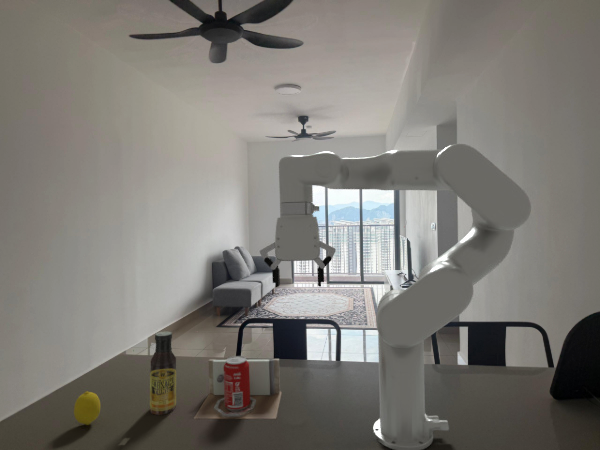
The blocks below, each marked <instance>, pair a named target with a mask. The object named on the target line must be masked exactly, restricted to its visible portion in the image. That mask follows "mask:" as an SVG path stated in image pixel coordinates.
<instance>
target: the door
mask: <svg viewBox="0 0 600 450" xmlns="http://www.w3.org/2000/svg"><path fill="white" fill-rule="evenodd" d="M226 360H227V359H215V360H214V361H213V386H214V395H224V365H225V363H226ZM246 361H247V362H248V363H249V375H250V395H274V394H275V386H274V360H273V358H272V359H246Z"/></svg>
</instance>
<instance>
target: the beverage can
mask: <svg viewBox="0 0 600 450" xmlns="http://www.w3.org/2000/svg"><path fill="white" fill-rule="evenodd" d="M225 360H226V363H225V365H224V398H225V407H226V408H228V410H230V411H232V412H239V411H243V410H245V409H246V408H247V406H248V405H249V404H250V375H249V363H248V362H247V361H246V360H247V357H245V356H242V355H236V356H235V355H234V356H230V357H228V358H227V359H225Z"/></svg>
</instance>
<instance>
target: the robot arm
mask: <svg viewBox="0 0 600 450" xmlns="http://www.w3.org/2000/svg"><path fill="white" fill-rule="evenodd" d="M278 181H279V183H278V185H279V186H278V187H279V214H280V216H279V217H277V218H276V219H277V220H276V224H275V235H274V238H275V239H274V241H275V242H273V243H271V244H270V245H269V244H268V246H266V247H264V248H262V249H260V250H259V254H260V256H261V258H262V259H263V262H264V263H265V264H266V265H267V266H269V268H270V269H271V270H272V271H271V272H272V273H271V274H272V276H271V277H272V284H274V285H275V288H279V286H280V285H281V283H280V282H281V279H280V277H281V275H280V268H279V265H280V264H281V262H300V261H301V262H307V261H309V262H311V261H313V262H314V263H315V264H316V265H317V266H318V267H317V286H318V287H322V283H325V268H326V267H327V266H328V264H329V263H330V262H331V261H332V259H333V257H334V256H335V253H336V252H337V250H336V247H333V246H331V245H329V244H327V243H326V242H323V241H321V239H320V229H319V228H320V227H319V223H318V218H317V216H314V213H316V212H320V205H319V204H318V205H317V204H314V203H313V202H314V199H313V196H314V195H313V194H314V193H313V191H314V190H313V186H316V187H323V188H326V189H329V190H379V191H380V190H381V191H433V192H434V191H435V192H436V191H437V192H438V191H440V192H441V191H444V192H445V191H446V192H447V191H449V192H450V191H452V192H453V193H454V194H455V195H456V196H457V197H458V198H459V199H460V200H461V201H462V202H463V203H465V204H466V205H467V206H468V207H469V208H470V210H471V211H470V212H471V216H472V222H471V226H470V229H469V231H468V233H466V235H464V237H463V238H461V239H460V240H459V241H458V242H457V243H455V244H454V245H453V246H451V248H449V249H448V250H447V251H445V252H444V253H442V254H441V255H439V256H438V257H437V258H435V259H434V260H432V261H431V262H430V263H427V264H426V265H425V266H424V267H423V268H422V269H421V271H420V272H419V275H418V278H417V280H416V281H415V282H413V283H412V284H411V285H410V286H408V287H407V288H406V289H403V288H394V289H392V290H388V292H386V293H385V294H384V295H382V296H381V298H380V300H379V302H378V304H377V308H376V319H375V323H376V331H377V333H378V334H377V335H378V336H377V337H378V338H377V339H378V340H377V341H378V347H377V348H378V384H379V385H378V386H379V387H378V389H379V390H378V391H379V392H378V394H379V398H378V399H379V418H378V420H376V421H375V422H374V424H373V427H372V431H373V434H374V435H375V437H376V440H377V442H379V443H380V444H381V445H383V446H385V447H386V448H389V449H392V450H425V449H427V448H428V447H429V446H430V445H432V443H433V441H434V434H433V432H434V431H449V430H450V429H449V428H450V426H449V422H448V420H447V419H440V418H439V416H438V415H428V414H426V408H425V407H426V402H425V398H426V397H425V395H426V394H425V391H426V390H425V349H424V347H425V344H424V341H425V340H426V339H428V338H429V337H430V336H432V335H434V334H435V333H436V332H438V331H439V330H441V329H442V328H443V327H445V326H446V325H448V324H449V323H450V322H452V321H453V320H455V319H456V318H457V317H459V316H460V315H461V314H462V313H463V312H465V310H466V309H467V308H468V307H469V306H470V304H471V302H472V299H473V296H474V285H476V284H478V283H479V282H480V281H481V280H482V279H484V278H485V277H486V276H487V275H488V274H490V273H491V272H492V271H493V270H494V269H496V268H497V267H498V266H499V265H500V264H501V263H502V262H503V261H504V260H505V259H506V257H507V255H508V254H509V252H510V250H511V247H512V245H513V241H514V235H515V229H518V228H520V227H521V226H522V225H524V224H525V222H527V221H528V219H529V217H530V215H531V211H532V206H531V199H530V197H529V196H528V194H527V192H525V190H524V189H523V188H522V187H521V186H520V185H519V184H518V183H517V182H515V181H514V180H513V179H512V178H510V177H509V176H508V175H507V174H505V172H503V171H502V169H500V168H498V166H496V165H495V164H494V163H493V162H492V161H491V160H489V159H488V157H486V156H485V155H483V154H482V153H481V152H480V151H479V150H477V149H476V148H475V147H472V146H471V145H468V144H465V143H454V144H450V145H448V146H446V147H445V148H444V149H395V150H389V151H386V152H383V153H381V154H378V155H376V156H368V157H357V158H356V157H350V158H349V157H342V158H341V156H339V155H338V154H336V153H334V152H331V151H321V152H317V153H313V154H308V155H307V154H306V155H287V156H283V157H281V158H280V159H279V161H278ZM321 249H323V250H324V251H327V252H328V253H327V255H326V256H325V258H324V259H323V260H322V259H321V257H320V255H321ZM272 250H274V253H275V254H274V255H275V260H272V258H271V257H270V256H269V254H268V253H269V252H272Z"/></svg>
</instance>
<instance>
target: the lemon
mask: <svg viewBox="0 0 600 450" xmlns="http://www.w3.org/2000/svg"><path fill="white" fill-rule="evenodd" d="M73 408H74V409H73V414H74V415H73V416H74V418H75V420H76V421H77V422H78V423H80V424H83V425H86V426H89V425H90V424H91V423H93V422H94V421H95V420H96V419H97V418H98V417H99V415H100V412H101V408H102V407H101V400H100V398H99V396H98V394H97V393H95V392H92V391H85V392H83V393H81V394H80V395H79V396H78V398H76V400H75V403H74V406H73Z"/></svg>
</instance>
